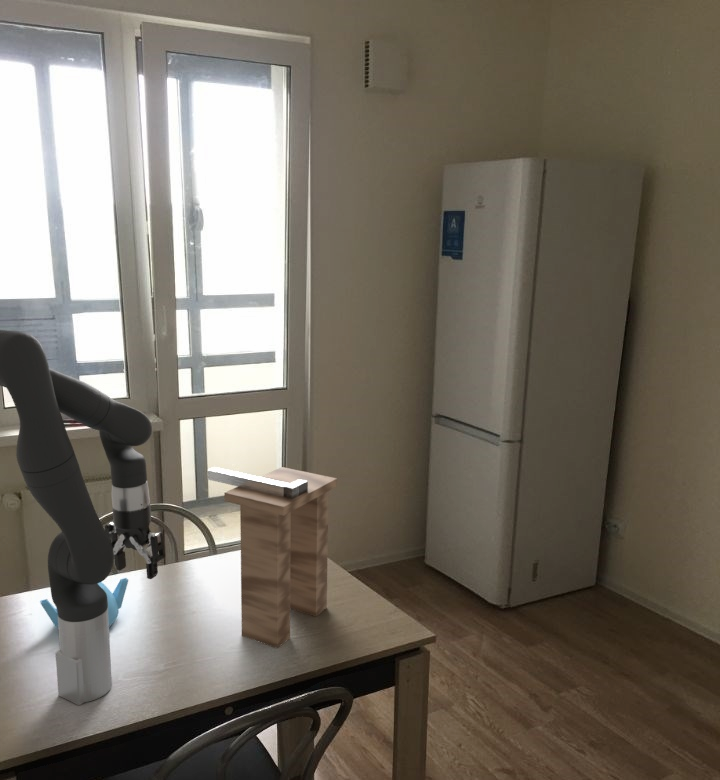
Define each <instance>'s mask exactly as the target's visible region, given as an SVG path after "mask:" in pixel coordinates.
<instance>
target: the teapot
mask: <svg viewBox="0 0 720 780" xmlns="http://www.w3.org/2000/svg"><path fill="white" fill-rule="evenodd" d="M128 583H129V579H128V578H127V577H123V578H120V580H119V582H118V583H117V585H116V586H115V589H114V590H113V592H112V591H111V590H110V589H109V587H108V586H106V584H104V583H103V581H102V582H100V583H97V584H98V585H99V586H100V587H101V588H102V589H103V590H104V591H105V592H106V594H107V600H108V618H109V627H111V625H113V623H114V622H115V621H116V619H117V618H118V616H119V612H120V611H119V609H121V608H122V606H123V601H124V598H125V594H126V590H127V587H128ZM39 603H40V605H41V606H42V608H43V609H44V612H45V613H46V614H47V616H48V617H49V619H50V620H51V622H52V623H53V625H54V627H57V628H58V629H59V627H58V614H57V608H55V607H54V605H53V604H52V603H51V602H49V600H48V598H45V599H42V600H40V601H39Z"/></svg>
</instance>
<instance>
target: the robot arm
mask: <svg viewBox="0 0 720 780" xmlns="http://www.w3.org/2000/svg"><path fill="white" fill-rule="evenodd" d="M0 387H3V388H6V390H7V391H8V393H9V395H10V397H11V399H12V402H13V403H14V404H13V405H14V406H15V409H16V412H17V414H18V419H19V432H18V437H17V441H16V448H15V451H16V452H15V454H16V455H15V456H16V461H17V464H18V468H19V470H20V472H21V475H22V477H23V480H24V483H25V484H26V487H27V488H28V490H29V492H30V494H31V495H32V497H33V498H34V500H35V501H36V503H38V504H39V505H40V507H41V508H42V509H43V510H44V511H45V513H47V514H48V515H49V517H50V518H51V519H52V520H53V521H54V522H55V523H56V525H57V527H58V528H59V529H60V531H61V532H60V533H58V534H57V535H55V537H54V538H53V540H52V542H51V544H50V545H49V549H48V555H47V570H48V571H47V572H48V580H49V587H50V594H51V599H52V602H53V604H54V606H55V607H56V608H55V609H57V614H58V627H59V628H58V627H57V628H58V640H59V650H57V651H56V652H55V662H56V663H55V664H56V678H57V694H58V696H59V697H60V698H63V699H65V700H67V701H69V702H71V703H73V704H76V705H78V706H81V705H82V704H84V703H87V702H91V701H92V702H93V701H95V700H97V699H99V698H101V697H103V696H105V695H106V694H107V693H108V692H109V691H110V690H111V689H112V686H113V684H112V683H113V679H112V678H113V677H112V664H111V663H112V660H111V644H110V643H111V640H110V626H109V618H108V600H107V594H106V592H105V591H104V590H103V589H102V588H101V587H100V586H99V585H98V584H97V583H100V582H102V583H103V581H104V580H106V579H107V578H108V577H109V576H110V574H111V572H112V570H113V567H114V566H115V568H116V570H117V571H122V570H124V569H125V568H126V567H127V561H126V560H127V559H126V551H124V550H125V549H132V550H133V551H137V552H138V555H139V556H142V557H143V559H144V561H145V562H146V563H145V566H146V567H145V568H146V578H147V579H148V580H153V579H155V577H156V576H157V575H158V573H159V571H158V563H159V562H160V561H162V560H163V559H165V557H166V553H165V552H166V551H165V543H164V534H163V532H162V531H158V532H152V531H151V528H150V525H151V522H152V512H151V510H152V509H151V499H150V498H151V496H150V488H149V484H148V473H147V472H148V471H147V460H146V458H145V457H144V455H143V454H142V453H140V452H138V451H136V450H135V449H134V448H133V447H138V446H142V445H143V444H146V443H147V442H148V440H149V439H150V437H151V435H152V433H153V431H152V430H153V428H152V427H153V426H152V421H150V420H151V419H150V418H149V417H148V416H147V415H146V414H145V413H144V412H142V411H140V410H138V409H137V408H134V407H132V406H129V405H127V404H125V403H122V402H121V401H117V400H115V399H113V398H111V397H109V395H108V394H105V393H104V392H102V391H101V390H99V389H97V388H95V387H94V386H92V385H90V384H89V383H87V382H84V381H82V380H80V379H78V378H75V377H73V376H70V375H67V374H64V373H62V372H59V371H57V370H55V369H52V368H51V367H50V366H49V362H48V359H47V355H46V352H45V350H44V348H43V345H42V344H41V342H40V341H39V340H38V339H37V338H36V337H35V336H34V335H32V334H29V333H27V332H23V331H16V330H6V329H0ZM62 415H64V416H67V417H69V418H70V419H72V420H74V421H75V422H78V423H79V424H81V425H83V426H85V427H88V428H89V429H92V430H97V431H98V434H99V437H100V441H101V444H102V448H103V450H104V453H105V456H106V458H107V461H108V463H109V466H110V477H111V503H112V505H111V506H112V507H111V508H112V517H113V518H112V519H113V521H110V522H108V523H107V524H105V525H103V523H102V522H101V520H100V518H99V516H98V514H97V511H96V510H95V506H94V504H93V502H92V498H91V495H90V494H89V491H88V488H87V486H86V483H85V480H84V478H83V477H84V476H83V475H82V471H81V467H80V464H79V461H78V459H77V455H76V454H75V450H74V448H73V445H72V443H71V439H70V437H69V435H68V432H67V428H66V426H65V423H64V422H65V421H64V419H63V416H62ZM146 546H147V547H146ZM144 547H146V548H144ZM150 555H151V556H150Z"/></svg>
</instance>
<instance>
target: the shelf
mask: <svg viewBox="0 0 720 780" xmlns="http://www.w3.org/2000/svg"><path fill="white" fill-rule="evenodd" d="M260 477H262V478H267V479H271V480H276V481H280V482H285V483H289V484H290V483H292V482H294V481H296V480H298V479H301V480H305V481H308V491H307V492H305V493H303V494H301V495H300V496H298V497H296V498H294V499H290V498H286V497H281V496H277V495H273V494H268V493H264V492H260V491H255V490H251V489H247V488H242V487H238V486H235V487H234V488H232V489H230V490H227V491H226V492H224V502H226V503H231V504H233V505H234V504H235V505H239V509H240V510H239V511H240V513H239V515H240V524H239V525H240V581H241V582H240V592H241V593H240V595H241V596H240V599H241V600H240V601H241V605H240V606H241V607H240V609H241V615H240V616H241V636H242V637H245V638H247V639H250V640H252V641H255V640H256V641H255V642H258V641H259V642H258V643H261V642H262V644H264V643H265V645H267V644H268V645H267V646H269V645H271V647H272V646H274V647H273V648H275V647H276V648H275V649H278V648H279V647H281V646H282V645H283V644H284V643H286V642H287V641H288V640H290V638H291V610H294V611H297V612H299V613H303V614H307V615H309V614H310V616H312V615H313V617H315V616H316V617H318V616H319V615H320V614H321V613H322V612H323V611H325V610H326V609H327V607H328V606H327V605H328V552H329V550H328V549H329V547H328V545H329V544H328V543H329V540H328V539H329V496H330V495H329V491H331V490H333V489H335V488H337V486H338V478H337V477H332V476H327V475H323V474H318V473H314V472H308V471H303V470H298V469H293V468H289V467H284V466H281V467H278V468H277V469H274V470H271V471H270V472H268V473H266V474H262V475H261V476H260ZM325 608H326V609H325ZM324 609H325V610H324ZM319 613H320V614H319ZM318 614H319V615H318ZM286 640H287V641H286ZM285 641H286V642H285ZM281 644H282V645H281ZM280 645H281V646H280Z"/></svg>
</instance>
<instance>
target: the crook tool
mask: <svg viewBox="0 0 720 780" xmlns="http://www.w3.org/2000/svg"><path fill="white" fill-rule="evenodd" d="M206 472H207V480H208V481H213V482H218V483H222V484H224V485H225V484H226V485H231V486H234V487H242V488H247V489H251V490H255V491H260V492H264V493H268V494H273V495H277V496H281V497H286V498H290V499H294V498H296V497H298V496H300V495H301V494H303V493H305V492H307V491H308V481H305V480H301V479H298V480H296V481H294V482H292V483H290V484H289V483H285V482H280V481H276V480H271V479H267V478H262V477H261V476H256V475H252V474H247V473H243V472H239V471H235V470H234V471H233V470H230V469H225V468H220V467H217V466H213V467H211V468H208V469H207V471H206Z"/></svg>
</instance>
